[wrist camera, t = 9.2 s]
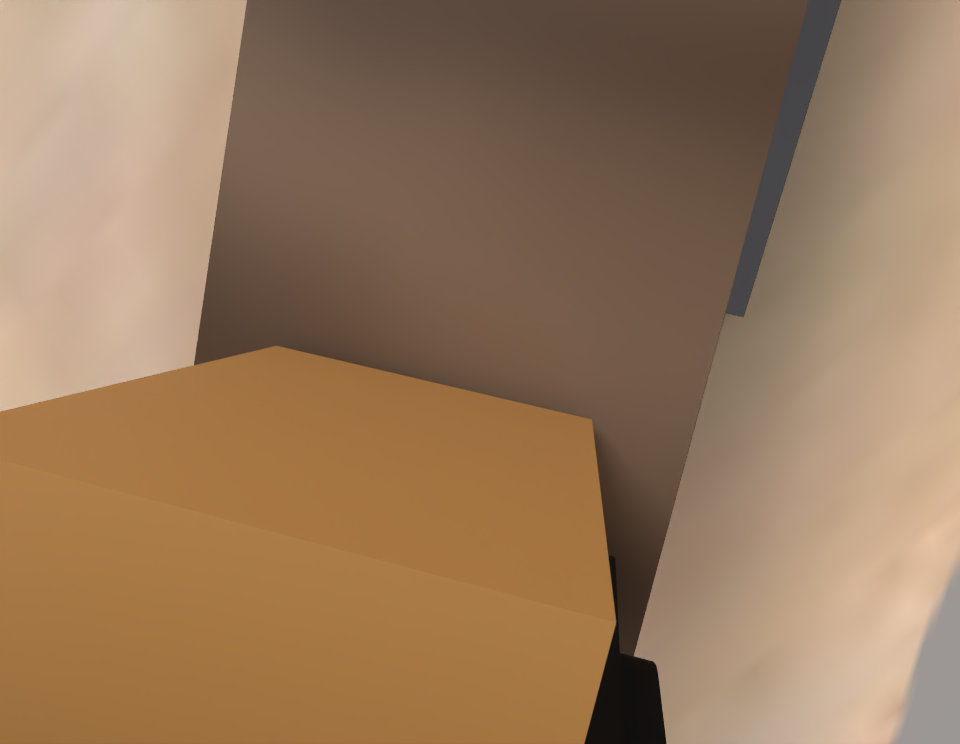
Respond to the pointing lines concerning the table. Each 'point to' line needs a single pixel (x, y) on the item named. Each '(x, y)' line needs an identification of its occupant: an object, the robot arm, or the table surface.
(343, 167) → the beam
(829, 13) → the stand
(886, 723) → the table surface
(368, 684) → the block
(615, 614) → the robot arm
